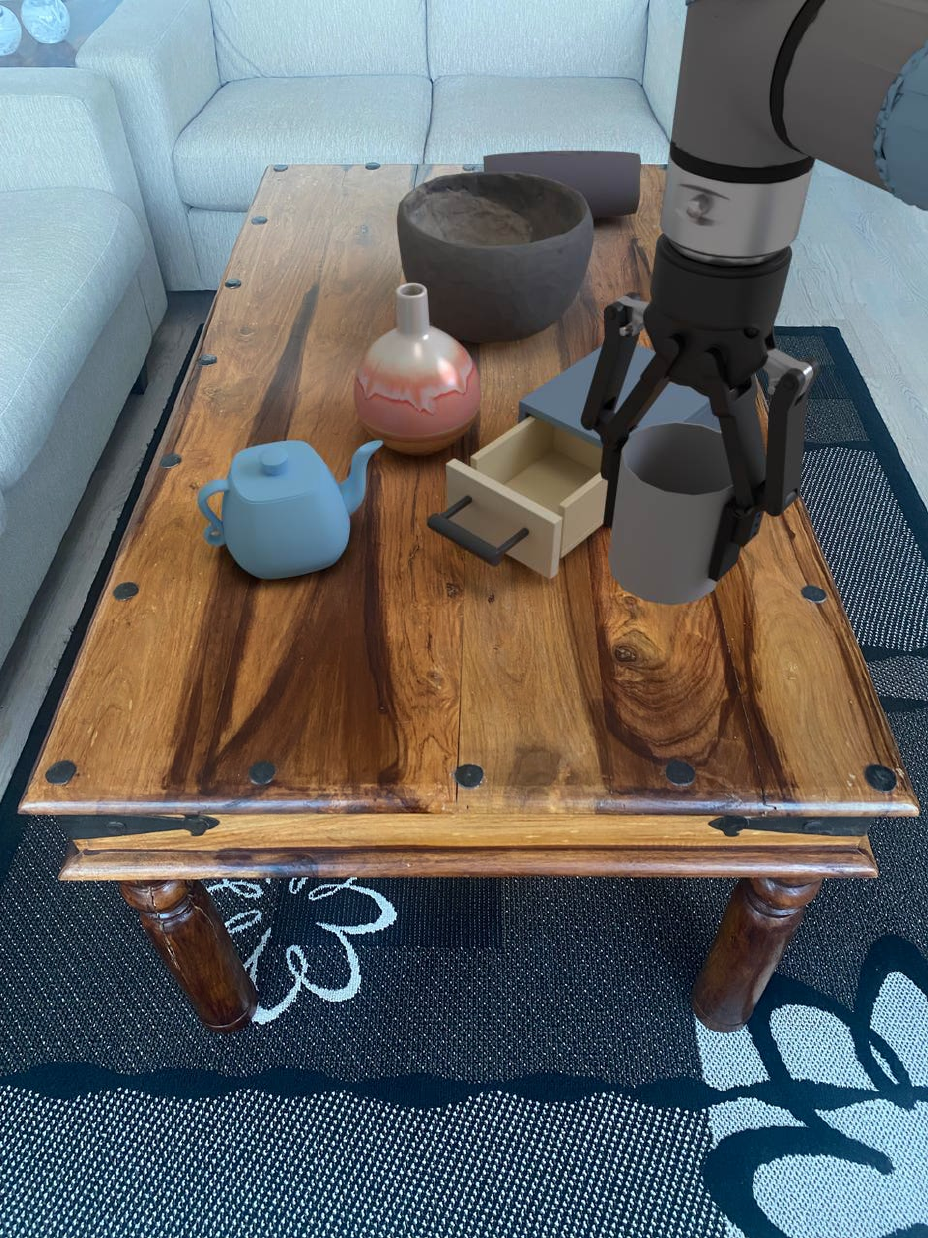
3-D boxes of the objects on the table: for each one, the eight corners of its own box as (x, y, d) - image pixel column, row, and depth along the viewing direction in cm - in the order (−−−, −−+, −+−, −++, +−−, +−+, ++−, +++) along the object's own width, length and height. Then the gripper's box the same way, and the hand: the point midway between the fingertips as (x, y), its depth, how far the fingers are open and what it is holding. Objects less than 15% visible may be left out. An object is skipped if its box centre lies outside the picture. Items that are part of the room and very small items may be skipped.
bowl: (449, 263, 132) (446, 152, 121) (611, 296, 124) (624, 182, 113) (365, 345, 117) (353, 227, 106) (544, 388, 109) (551, 267, 98)
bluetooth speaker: (484, 236, 137) (484, 166, 130) (482, 209, 144) (482, 141, 137) (636, 233, 137) (644, 163, 130) (628, 207, 144) (635, 138, 136)
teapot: (397, 475, 81) (190, 514, 78) (404, 564, 89) (216, 602, 86) (367, 398, 89) (179, 430, 86) (376, 485, 97) (204, 517, 94)
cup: (729, 605, 66) (758, 496, 59) (615, 605, 67) (630, 496, 59) (709, 528, 72) (733, 421, 65) (604, 529, 72) (617, 421, 65)
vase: (342, 421, 105) (322, 274, 92) (451, 392, 109) (447, 247, 96) (384, 489, 97) (370, 337, 84) (501, 456, 100) (504, 305, 88)
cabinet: (625, 529, 92) (636, 458, 86) (516, 471, 99) (518, 400, 92) (715, 452, 100) (731, 382, 94) (609, 403, 107) (617, 335, 101)
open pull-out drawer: (512, 611, 83) (514, 555, 78) (409, 546, 89) (405, 490, 84) (645, 499, 94) (655, 443, 89) (545, 448, 100) (548, 393, 95)
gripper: (535, 208, 55) (524, 506, 71) (876, 324, 44) (772, 640, 61) (610, 171, 58) (583, 462, 75) (940, 269, 48) (825, 581, 65)
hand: (668, 542), depth 68 cm, fingers closed on cup, 8 cm apart
